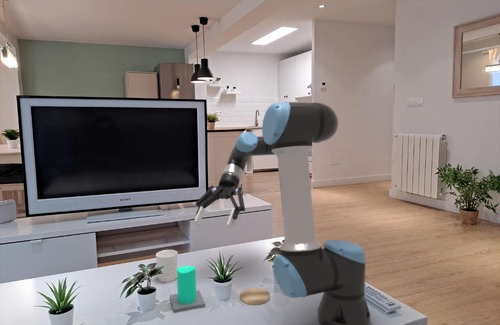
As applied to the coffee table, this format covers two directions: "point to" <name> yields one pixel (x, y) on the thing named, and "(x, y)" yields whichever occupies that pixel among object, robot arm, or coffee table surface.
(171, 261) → the white cup
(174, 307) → the slate pad
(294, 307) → the coffee table surface
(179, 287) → the candle
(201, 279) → the coffee table surface
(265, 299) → the cork pad
